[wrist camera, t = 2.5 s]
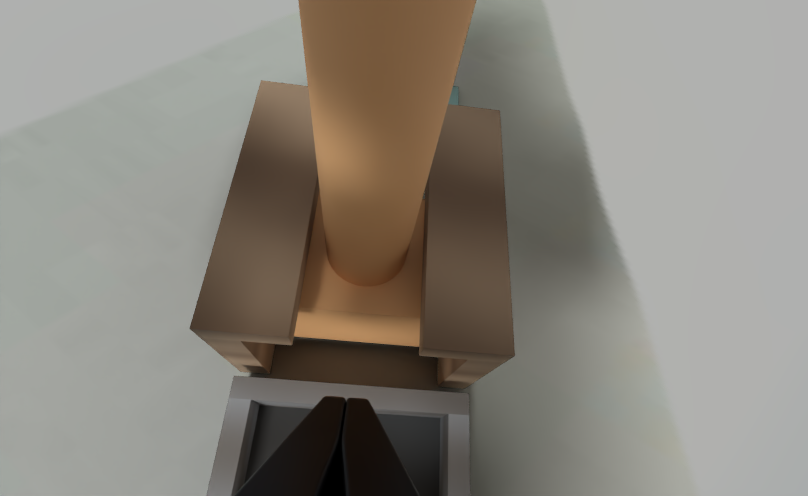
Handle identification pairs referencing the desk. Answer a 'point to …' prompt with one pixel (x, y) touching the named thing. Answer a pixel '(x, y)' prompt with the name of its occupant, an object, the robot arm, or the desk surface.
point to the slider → (374, 158)
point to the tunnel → (284, 274)
